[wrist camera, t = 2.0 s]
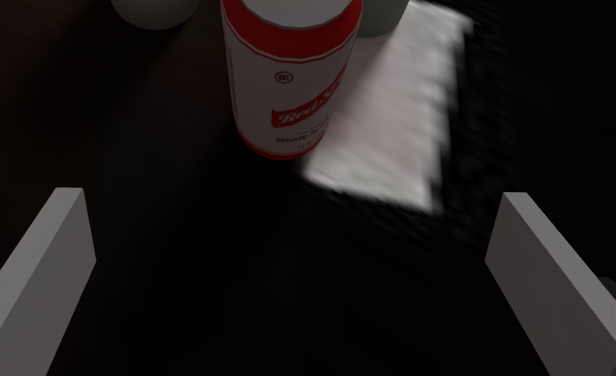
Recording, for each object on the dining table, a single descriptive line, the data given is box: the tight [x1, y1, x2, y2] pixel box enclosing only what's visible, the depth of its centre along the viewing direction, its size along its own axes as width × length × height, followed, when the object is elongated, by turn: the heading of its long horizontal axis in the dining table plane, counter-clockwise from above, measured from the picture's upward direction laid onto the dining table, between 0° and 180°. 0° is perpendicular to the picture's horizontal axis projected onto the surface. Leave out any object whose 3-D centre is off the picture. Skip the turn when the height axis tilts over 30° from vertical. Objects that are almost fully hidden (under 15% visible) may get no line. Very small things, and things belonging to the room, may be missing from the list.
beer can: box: [221, 0, 363, 160], centre depth 29 cm, size 6×6×16 cm
